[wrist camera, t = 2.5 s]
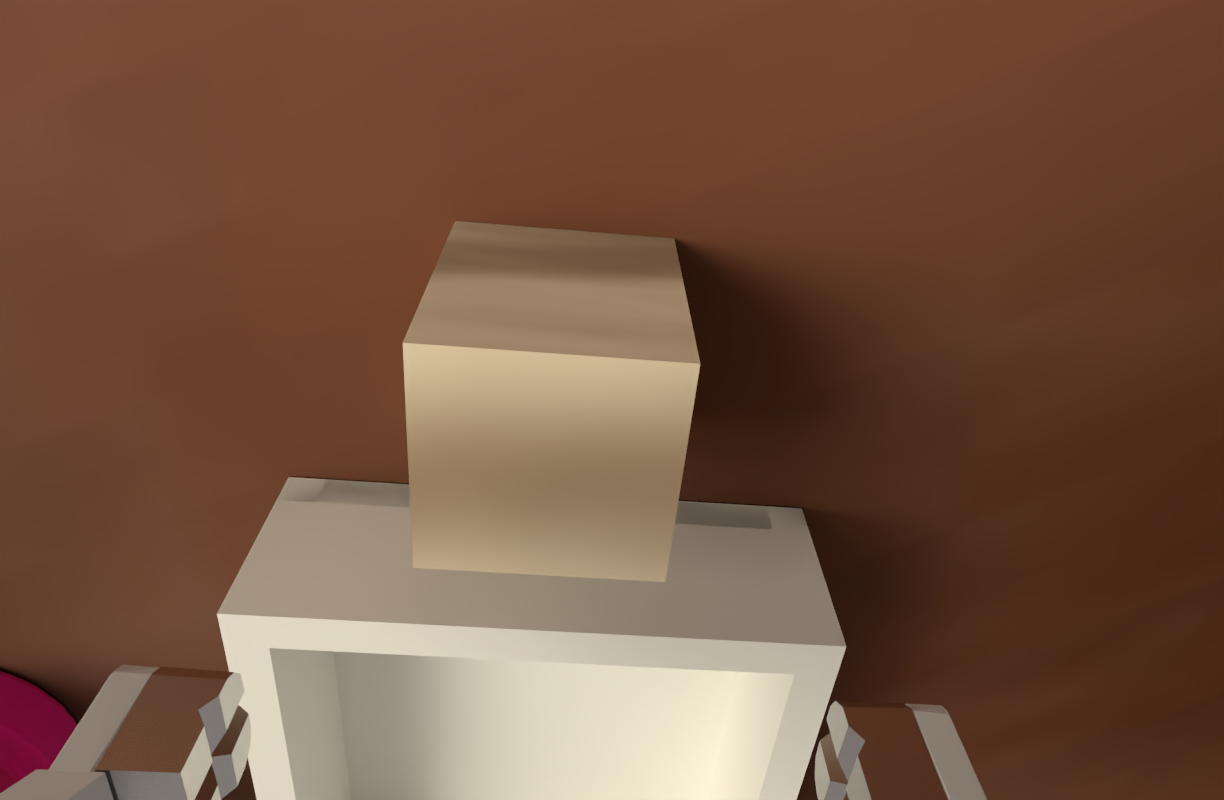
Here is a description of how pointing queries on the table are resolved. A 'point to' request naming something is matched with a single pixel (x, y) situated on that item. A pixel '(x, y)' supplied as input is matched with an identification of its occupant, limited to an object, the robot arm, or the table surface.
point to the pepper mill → (29, 729)
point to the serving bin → (526, 662)
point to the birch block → (549, 403)
